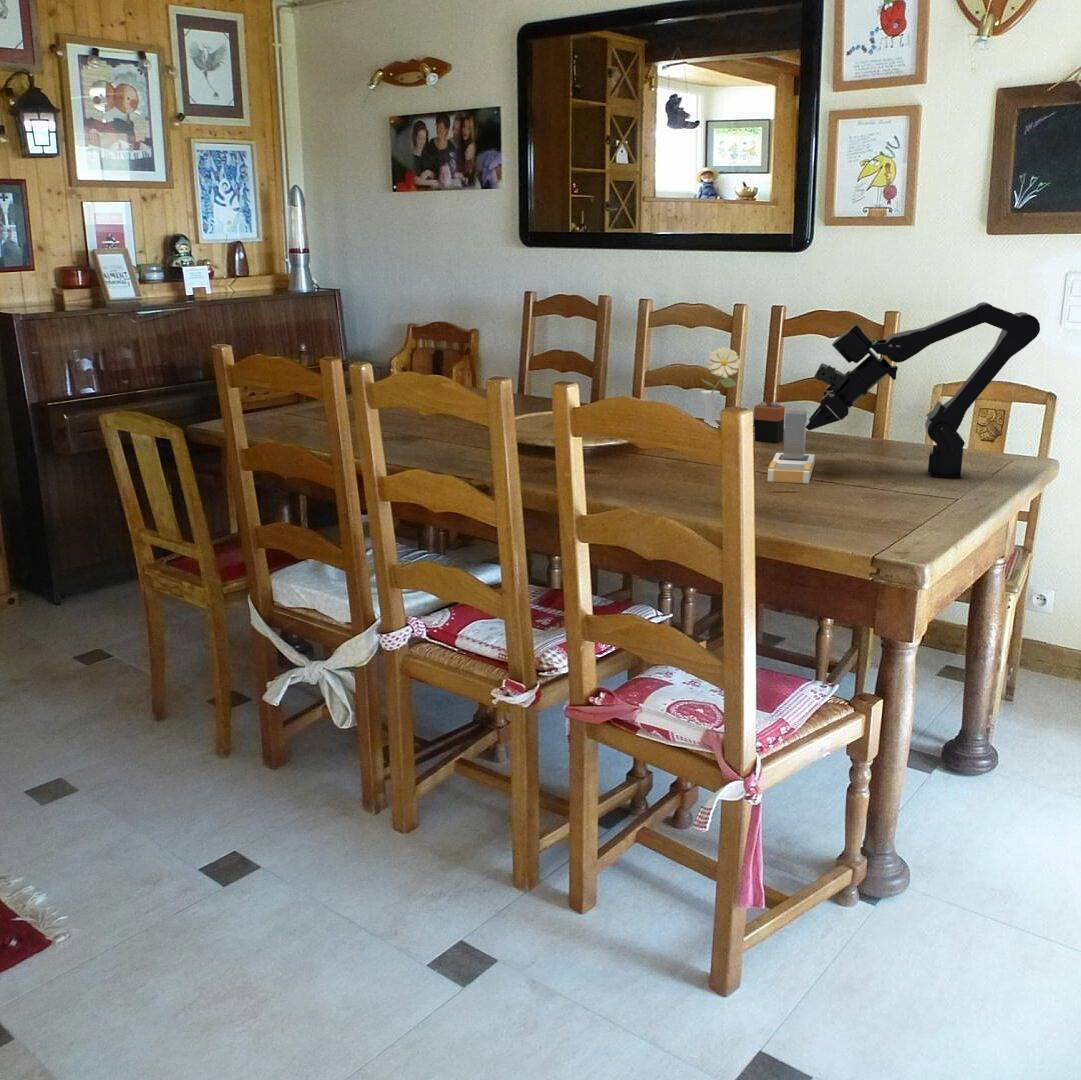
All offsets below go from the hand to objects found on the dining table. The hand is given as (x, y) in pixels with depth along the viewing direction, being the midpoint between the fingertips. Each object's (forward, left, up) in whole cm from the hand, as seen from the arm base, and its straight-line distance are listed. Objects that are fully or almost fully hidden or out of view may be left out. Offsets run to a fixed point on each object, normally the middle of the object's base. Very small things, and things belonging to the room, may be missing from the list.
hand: (808, 425), depth 243 cm
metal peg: (+3, 0, -10) cm, 11 cm away
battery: (+12, -31, -10) cm, 35 cm away
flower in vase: (+25, -21, -10) cm, 34 cm away
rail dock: (+3, +5, -10) cm, 12 cm away
